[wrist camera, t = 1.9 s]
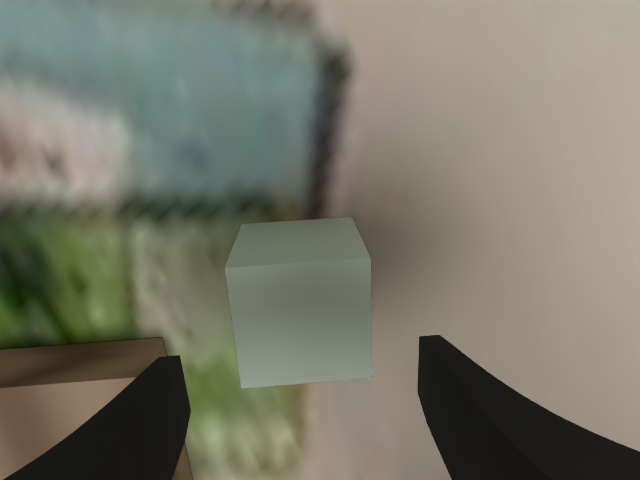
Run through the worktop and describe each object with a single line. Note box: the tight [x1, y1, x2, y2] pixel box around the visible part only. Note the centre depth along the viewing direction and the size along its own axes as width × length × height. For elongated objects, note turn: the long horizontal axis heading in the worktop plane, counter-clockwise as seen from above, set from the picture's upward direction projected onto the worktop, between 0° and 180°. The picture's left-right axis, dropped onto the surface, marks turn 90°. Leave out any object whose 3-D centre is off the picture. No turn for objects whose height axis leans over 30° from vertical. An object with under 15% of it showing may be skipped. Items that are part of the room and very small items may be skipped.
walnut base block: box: [0, 337, 193, 480], centre depth 21 cm, size 10×10×3 cm
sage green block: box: [225, 217, 372, 388], centre depth 17 cm, size 5×5×5 cm
